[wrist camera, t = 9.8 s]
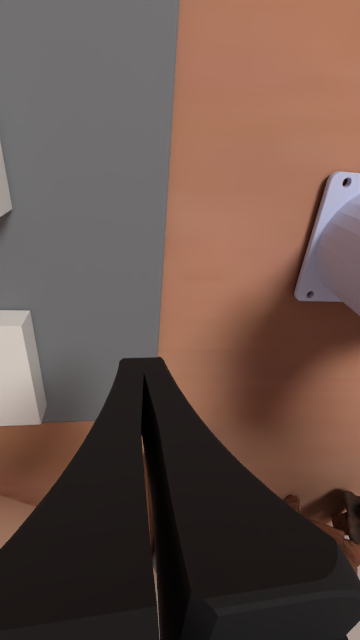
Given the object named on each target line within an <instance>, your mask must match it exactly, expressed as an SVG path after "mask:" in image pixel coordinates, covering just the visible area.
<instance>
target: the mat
mask: <svg viewBox="0 0 360 640" xmlns="http://www.w3.org/2000/svg"><path fill="white" fill-rule="evenodd" d="M178 15H179V0H0V142H1V147H2V153H3V159H4V164H5V170H6V176H7V181H8V187H9V193H10V198H11V204H12V209H11V210H10V211H8V212H7V213H6V214H4V215H3V216H1V217H0V310H25V311H30V313H31V318H32V324H33V330H34V335H35V341H36V347H37V352H38V358H39V364H40V369H41V375H42V381H43V386H44V392H45V398H46V403H47V406H46V409H45V413H44V416H43V419H42V422H41V423H46V422H72V421H96V419H97V417H98V415H99V414H100V412H101V410H102V408H103V406H104V404H105V401H106V399H107V397H108V395H109V392H110V390H111V388H112V385H113V383H114V380H115V377H116V374H117V371H118V367H119V361H120V360H121V359H122V358H148V357H158V341H159V324H160V308H161V292H162V276H163V259H164V243H165V227H166V210H167V194H168V178H169V162H170V145H171V129H172V113H173V97H174V80H175V64H176V48H177V32H178Z"/></svg>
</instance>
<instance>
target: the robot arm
mask: <svg viewBox="0 0 360 640" xmlns="http://www.w3.org/2000/svg"><path fill="white" fill-rule="evenodd" d="M345 178H347V179H348V180H347V183H346V185H344V186H343V185H342V183H343V181H344V179H345ZM310 291H311V294H310V295H308V296H307V293H308V292H310ZM294 296H295V298H296V299H297V300H299V301H328V302H344V303H345V304H346V305H347V306H348V307H350V308H351V309H352V310H353V311H354V312H356V313H357V314H358V315H359V316H360V173H352V172H340V171H337V172H334V173H332V174H331V175H330V176H329V178H328V180H327V183H326V187H325V190H324V193H323V197H322V200H321V203H320V207H319V210H318V214H317V217H316V220H315V224H314V227H313V230H312V234H311V237H310V241H309V244H308V247H307V251H306V254H305V257H304V261H303V264H302V268H301V271H300V274H299V278H298V281H297V284H296V288H295V291H294ZM141 436H142V438H143V445H144V452H145V459H146V466H147V473H148V479H149V486H150V493H151V500H152V509H153V521H154V537H155V554H156V572H157V590H158V609H159V628H158V613H157V601H156V592H155V583H154V574H153V564H152V554H151V544H150V534H149V524H148V513H147V502H146V491H145V479H144V467H143V454H142V441H141ZM359 621H360V580H359V578H358V576H357V574H356V572H355V571H354V569H353V567H352V565H351V564H350V562H349V560H348V559H347V557H346V556H345V554H344V552H343V551H342V549H341V548H340V546H339V545H338V543H337V541H336V540H335V539H334V538H333V537H331V536H330V535H328V534H327V533H326V532H324V531H323V530H322V529H320V528H319V527H317V526H316V525H315V524H313V523H312V522H311V521H309V520H308V519H306V518H305V517H304V516H302V515H301V514H299V513H298V512H297V511H295V510H294V509H293V508H292V507H290V506H289V505H288V504H287V503H285V502H284V501H283V500H282V499H281V498H279V497H278V496H277V495H276V494H274V493H273V492H272V491H271V490H270V489H269V488H267V487H266V486H265V485H264V484H263V483H262V482H261V481H260V480H259V479H258V478H256V477H255V476H254V475H253V474H252V473H251V472H250V471H249V470H248V469H246V468H245V467H244V466H243V465H242V464H241V463H240V462H239V461H238V460H237V459H236V458H235V457H234V456H233V455H232V454H231V453H230V452H229V451H228V450H227V449H226V448H225V447H224V445H223V444H222V443H221V442H220V441H219V440H218V439H217V438H216V437H215V435H214V434H213V433H212V432H211V431H210V430H209V428H208V427H207V426H206V425H205V423H204V422H203V421H202V420H201V418H200V417H199V416H198V415H197V413H196V412H195V411H194V409H193V408H192V406H191V405H190V404H189V402H188V401H187V399H186V398H185V396H184V395H183V393H182V392H181V390H180V389H179V387H178V386H177V384H176V382H175V381H174V379H173V377H172V375H171V374H170V372H169V370H168V368H167V366H166V364H165V362H164V360H163V359H162V358H161V357H148V358H122V359H121V360H120V361H119V367H118V371H117V374H116V377H115V380H114V383H113V385H112V388H111V390H110V392H109V395H108V397H107V399H106V401H105V404H104V406H103V408H102V410H101V412H100V414H99V415H98V417H97V419H96V421H95V423H94V425H93V427H92V428H91V430H90V432H89V434H88V435H87V437H86V439H85V440H84V442H83V444H82V445H81V447H80V448H79V450H78V451H77V453H76V454H75V456H74V457H73V459H72V460H71V462H70V463H69V465H68V466H67V468H66V469H65V470H64V472H63V473H62V475H61V476H60V477H59V479H58V480H57V482H56V483H55V484H54V486H53V487H52V488H51V490H50V491H49V492H48V493H47V495H46V496H45V497H44V498H43V500H42V501H41V502H40V503H39V504H38V506H37V507H36V508H35V509H34V511H33V512H32V513H31V514H30V515H29V517H28V518H27V519H26V520H25V521H24V523H23V524H22V525H21V526H20V528H19V529H18V530H17V531H16V533H14V535H13V536H12V537H11V538H10V539H9V540H8V541H7V542H6V544H5V545H4V546H3V547H2V548H1V549H0V640H159V629H160V640H348V638H347V636H346V634H347V633H348V632H349V631H350V630H351V629H352V628H353V627H354V626H355V625H356V624H357V623H358V622H359Z"/></svg>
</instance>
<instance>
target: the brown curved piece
mask: <svg viewBox="0 0 360 640" xmlns="http://www.w3.org/2000/svg"><path fill="white" fill-rule="evenodd" d="M342 496H343V499H344V501H345V505H346V509H347V512H345V513H342V514H339V515H334V516H332V517H331V518H332V523H333V527H331V526H329V525H326V524H324V525H323V524H320V523H318V522H315V521H313V520H309V519H308V520H309V521H311V522H312V523H313V524H315V525H316V526H317V527H319V528H320V529H322V530H323V531H324V532H326V533H327V534H328V535H330V536H331V537H333V538H334V539H335V540H336V541H337V543H338V545H339V546H340V548H341V549H342V551H343V552H344V554H345V556H346V557H347V559H348V560H349V562H350V564H351V565H352V567H353V569H354V571H355V572H356V574H357V567H358V566H359V565H360V496H356V495H354V494H353V493H352V492H349V491H343V492H342ZM285 503H287V504H288V505H289V506H290V507H292V508H293V509H294V510H295V511H297V512H298V513H299V514H300V511H299V498H298V497H297V496H288V497H286V500H285ZM344 535H349V538H350V540H348V539H344Z"/></svg>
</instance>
